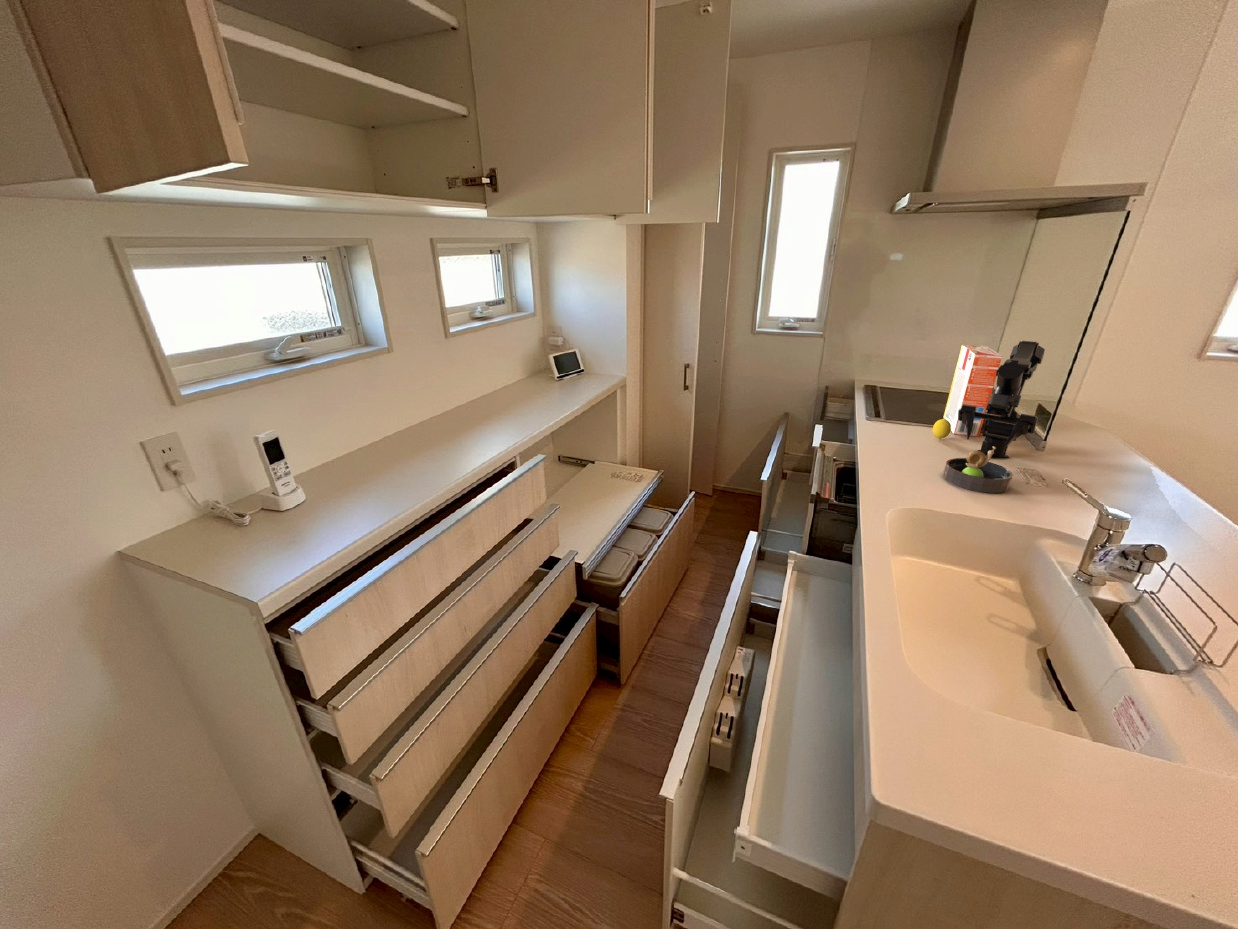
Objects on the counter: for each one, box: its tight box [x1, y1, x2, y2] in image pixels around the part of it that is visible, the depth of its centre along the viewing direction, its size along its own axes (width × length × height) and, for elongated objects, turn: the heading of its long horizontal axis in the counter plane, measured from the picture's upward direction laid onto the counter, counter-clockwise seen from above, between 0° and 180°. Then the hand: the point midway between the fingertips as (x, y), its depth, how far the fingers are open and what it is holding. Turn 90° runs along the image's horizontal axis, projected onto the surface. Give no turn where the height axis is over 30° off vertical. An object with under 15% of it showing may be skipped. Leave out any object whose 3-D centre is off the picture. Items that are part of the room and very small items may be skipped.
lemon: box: [932, 418, 952, 440], centre depth 181 cm, size 6×6×8 cm
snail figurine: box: [962, 446, 996, 478], centre depth 143 cm, size 5×6×12 cm
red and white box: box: [942, 344, 1003, 437], centre depth 191 cm, size 23×8×30 cm, turn 157°
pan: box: [942, 457, 1014, 494], centre depth 147 cm, size 16×16×4 cm
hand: (986, 442), depth 145 cm, fingers open, 9 cm apart
